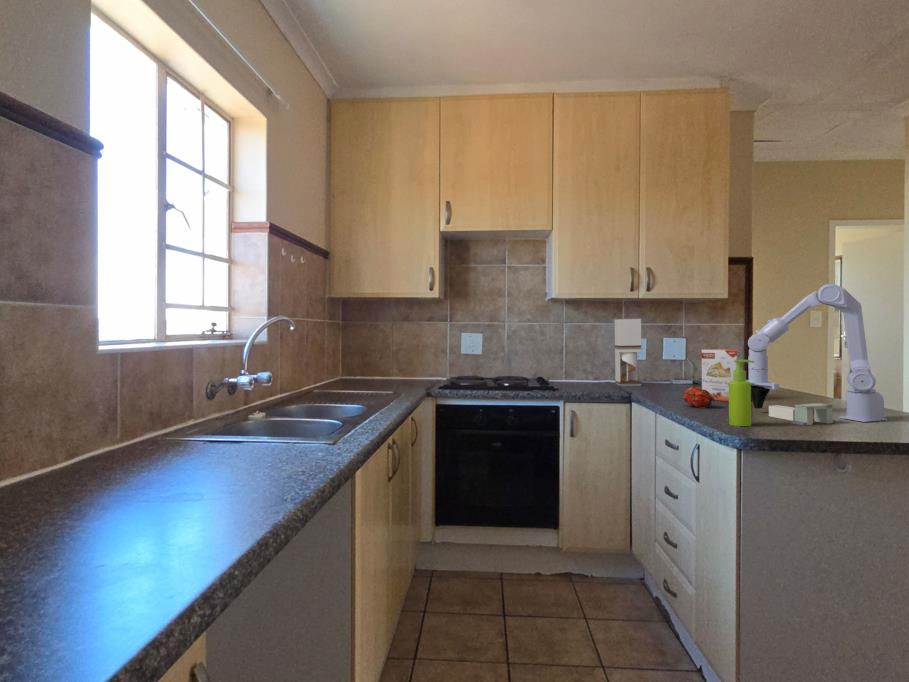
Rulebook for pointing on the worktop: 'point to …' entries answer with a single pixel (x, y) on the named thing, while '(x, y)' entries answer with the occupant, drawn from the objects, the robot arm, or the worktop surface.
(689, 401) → the dragon fruit
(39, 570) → the worktop surface
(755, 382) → the robot arm
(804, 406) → the pale green block
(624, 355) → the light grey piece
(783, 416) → the bar
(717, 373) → the cracker box
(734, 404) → the soap dispenser
